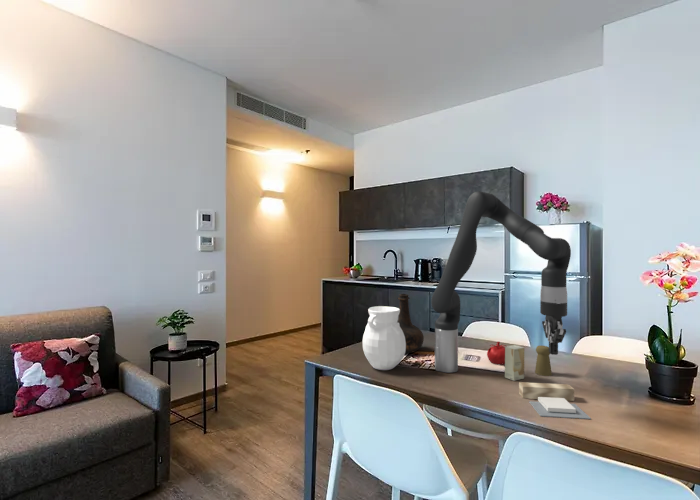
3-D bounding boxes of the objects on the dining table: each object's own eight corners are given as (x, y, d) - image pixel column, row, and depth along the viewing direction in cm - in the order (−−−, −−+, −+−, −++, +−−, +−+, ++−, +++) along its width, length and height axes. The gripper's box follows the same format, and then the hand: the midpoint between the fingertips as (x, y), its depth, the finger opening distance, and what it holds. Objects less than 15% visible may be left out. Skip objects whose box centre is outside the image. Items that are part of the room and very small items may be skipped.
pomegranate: (515, 363, 157) (516, 342, 156) (502, 367, 151) (502, 346, 151) (495, 357, 165) (495, 337, 165) (482, 361, 159) (482, 340, 159)
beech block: (522, 398, 120) (522, 386, 120) (519, 393, 124) (519, 382, 124) (574, 401, 118) (574, 389, 118) (568, 396, 122) (568, 384, 122)
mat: (540, 416, 108) (540, 415, 108) (528, 402, 117) (528, 401, 117) (591, 419, 106) (591, 418, 106) (574, 404, 115) (574, 403, 115)
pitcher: (385, 377, 140) (384, 314, 140) (353, 366, 154) (353, 308, 154) (415, 366, 153) (414, 308, 152) (383, 357, 166) (383, 303, 166)
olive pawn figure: (554, 376, 140) (554, 348, 140) (537, 375, 142) (537, 347, 142) (548, 371, 146) (548, 344, 146) (532, 370, 148) (532, 343, 147)
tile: (537, 400, 118) (547, 417, 110) (538, 391, 117) (548, 408, 109) (563, 401, 117) (575, 419, 109) (564, 392, 116) (576, 409, 108)
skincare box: (513, 381, 136) (513, 349, 135) (504, 377, 139) (504, 346, 139) (525, 378, 138) (525, 347, 138) (515, 374, 142) (515, 344, 142)
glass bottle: (430, 350, 177) (430, 293, 177) (410, 358, 164) (409, 297, 164) (400, 343, 189) (400, 291, 189) (379, 350, 176) (379, 294, 176)
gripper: (533, 297, 122) (533, 347, 122) (549, 303, 109) (549, 359, 109) (557, 297, 121) (557, 348, 121) (576, 303, 108) (575, 361, 108)
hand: (553, 353), depth 115 cm, fingers closed
